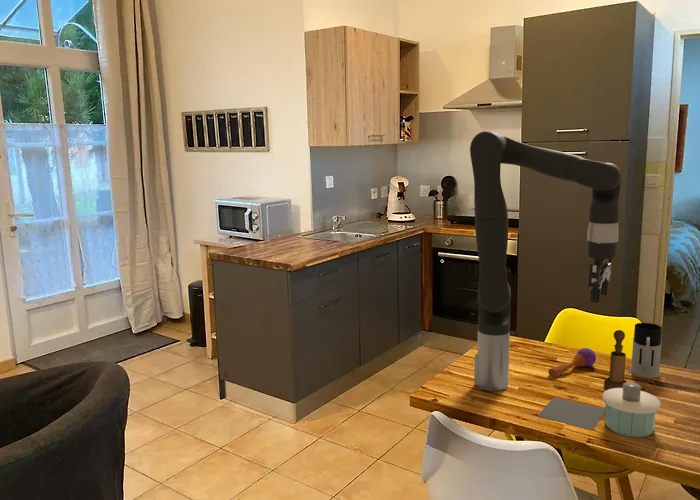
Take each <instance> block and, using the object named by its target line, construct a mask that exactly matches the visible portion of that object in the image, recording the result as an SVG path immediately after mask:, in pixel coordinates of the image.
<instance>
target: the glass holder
mask: <svg viewBox="0 0 700 500" xmlns="http://www.w3.org/2000/svg"><path fill="white" fill-rule="evenodd" d="M662 329H663V327H662V326H661V325H658V324H656V323H650V322H638V323H637V322H636V323H635V324H634V332H633V338H632V339H633V340H632V350H631V351H632V353H631V367H629V372H630V373H631V374H633V375H635V376H637V377H638V376H639V377H642V378H647V379H648V378H650V379H651V378H653V379H655V378H659V377H661V374H662V373H661V372H660V368H661V367H660V365H661V352H662V331H663V330H662Z"/></svg>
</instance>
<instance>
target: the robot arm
mask: <svg viewBox="0 0 700 500" xmlns="http://www.w3.org/2000/svg"><path fill="white" fill-rule="evenodd" d="M469 153H470V154H469V155H470V161H471V166H472V167H471V168H472V173H473V182H474V183H473V184H474V187H473V189H474V193H473V194H474V196H473V198H474V199H473V201H474V229H475V242H476V250H477V256H478V263H479V273H478V274H479V275H478V291H477V299H478V313H477V314H478V315H477V353H476V354H475V355H474V377H473V378H474V379H473V381H474V382H473V383H474V386H476V387H478V388H479V389H482V390H484V391H489V392H500V391H504V390H506V389H508V388H509V380H510V379H509V377H510V375H509V371H510V369H509V368H510V340H511V339H510V337H511V336H510V335H511V333H510V332H511V308H512V307H511V306H512V305H511V303H512V302H511V301H512V300H511V299H512V297H511V296H512V289H511V286H510V283H509V282H508V275H507V254H508V242H509V217H508V216H509V215H508V214H509V212H508V206H507V202H506V198H505V195H504V192H503V188H502V181H501V165H502V164H505V165H506V164H507V165H513V166H516V167H517V166H518V167H523V168H525V169H528V170H531V171H533V172H536V173H539V174H541V175H544V176H547V177H550V178H554V179H559V180H562V181H566V182H571V183H576V184H579V185H581V186H584V187H587V188H589V189H591V191H592V193H591V197H592V198H591V202H590V205H589V217H588V226H587V227H588V228H587V236H586V256H587V258H588V257H589V258H593V260H594V261H593V263H592V264H589V266H588V267H589V271H588V272H589V273H588V284H587V285H588V288H590V303H597V304H599V303H600V302H601V296H605V297H606V296H608V295H609V282H610V280H611V279H612V277H613V276H612V268H613V259H617V257H618V250H619V249H618V248H619V231H620V230H619V212H620V211H619V210H620V209H619V198H620V193H621V185H622V184H621V183H622V171H621V169H620V168H619V166H618V165H617V164H615V163H612V162H603V161H597V160H592V159H587V158H584V157H583V156H579V155H576V154H572V153H567V152H563V151H558V150H555V149H550V148H544V147H541V146H540V147H538V146H533V145H531V144H530V145H529V144H527V143H523V142H520V141H518V140H515V139H512V138H510V137H508V136H506V135H504V134H501V133H500V132H497V131H495V130H488V131H485V130H484V131H481V132H479V133H477V134H476V135H475V136H474V137H473V138H472V140H471V142H470V147H469Z"/></svg>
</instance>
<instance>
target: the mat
mask: <svg viewBox="0 0 700 500" xmlns="http://www.w3.org/2000/svg"><path fill="white" fill-rule="evenodd" d="M605 409H606V408H603V407H599V406H595V405H590V404H586V403H582V402H581V403H580V402H579V401H578V402H577V401H574V400H573V401H572V400H568V399H564V398H561V397H560V398H559V397H555V396H554V397H553V398H552V399H551V400H550V401H549V402H548V403H547V404H546V405H545V406H544V407H543V409H542V410H541V411H540V412H539V413H538V415H537V417H539V418H544V419H547V420H551V421H554V422H555V421H556V422H560V423H563V424H567V425H570V426H575V427H579V428H583V429H586V430H591V431H594V430H595V428H596V426H597V425H598V423H599V422H600V420H601V419H602V418H603V417H602V416H604V415H605Z"/></svg>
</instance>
